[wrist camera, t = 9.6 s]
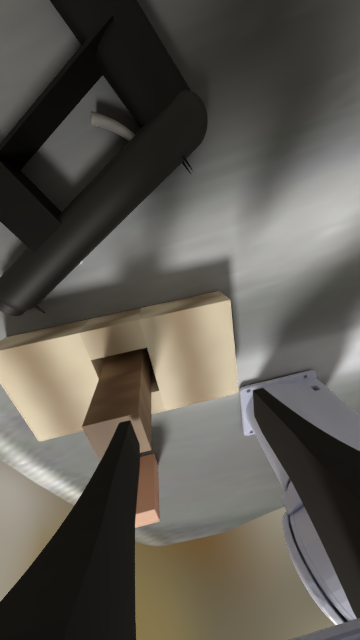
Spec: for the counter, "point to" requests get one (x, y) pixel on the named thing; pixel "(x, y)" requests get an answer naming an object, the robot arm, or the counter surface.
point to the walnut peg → (121, 401)
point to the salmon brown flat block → (147, 492)
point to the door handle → (133, 159)
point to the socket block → (114, 338)
